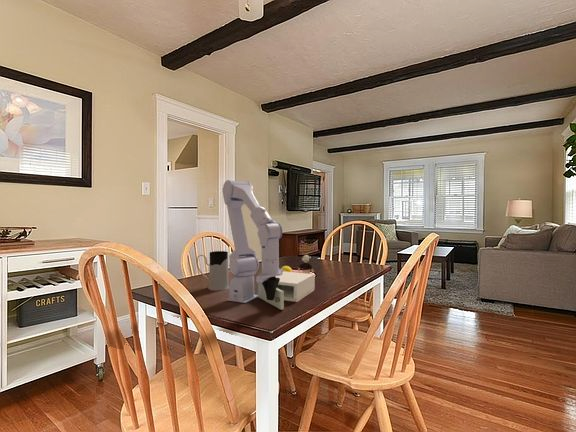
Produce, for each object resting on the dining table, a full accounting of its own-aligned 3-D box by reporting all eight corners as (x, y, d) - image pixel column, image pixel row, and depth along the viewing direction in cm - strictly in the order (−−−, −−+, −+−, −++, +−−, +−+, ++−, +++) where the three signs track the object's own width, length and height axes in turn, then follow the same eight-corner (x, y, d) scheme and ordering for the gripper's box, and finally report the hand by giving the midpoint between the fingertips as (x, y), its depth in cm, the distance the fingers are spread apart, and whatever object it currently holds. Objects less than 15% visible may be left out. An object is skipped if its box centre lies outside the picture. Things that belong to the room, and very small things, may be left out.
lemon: (294, 277, 155) (295, 267, 154) (286, 279, 151) (287, 268, 150) (284, 273, 160) (285, 263, 159) (276, 275, 156) (277, 264, 155)
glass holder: (225, 290, 129) (225, 254, 129) (192, 289, 131) (191, 253, 131) (232, 285, 138) (232, 251, 137) (201, 284, 140) (201, 250, 139)
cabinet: (296, 301, 114) (296, 283, 113) (260, 296, 120) (260, 279, 120) (314, 290, 130) (314, 274, 130) (281, 286, 136) (281, 271, 136)
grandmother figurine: (315, 283, 142) (315, 254, 142) (313, 285, 138) (313, 255, 138) (298, 282, 144) (298, 254, 144) (296, 284, 140) (296, 255, 140)
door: (277, 310, 103) (277, 292, 103) (255, 297, 118) (255, 281, 118) (283, 309, 104) (283, 291, 104) (261, 296, 119) (260, 280, 119)
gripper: (270, 263, 97) (270, 307, 98) (290, 256, 110) (290, 295, 111) (250, 261, 100) (250, 304, 101) (272, 255, 113) (272, 293, 114)
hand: (270, 299), depth 106 cm, fingers closed
